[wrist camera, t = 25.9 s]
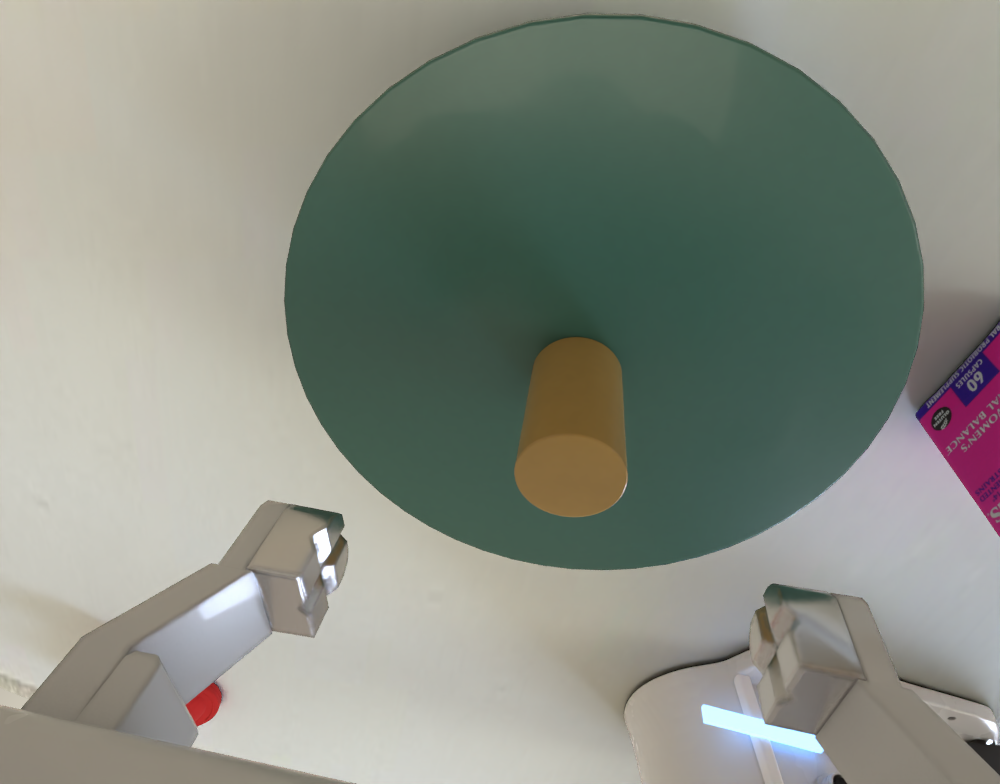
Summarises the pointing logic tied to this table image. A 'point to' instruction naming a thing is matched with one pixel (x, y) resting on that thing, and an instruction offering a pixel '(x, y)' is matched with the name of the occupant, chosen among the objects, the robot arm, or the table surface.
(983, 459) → the supplement box
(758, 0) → the table surface
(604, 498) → the tin lid
